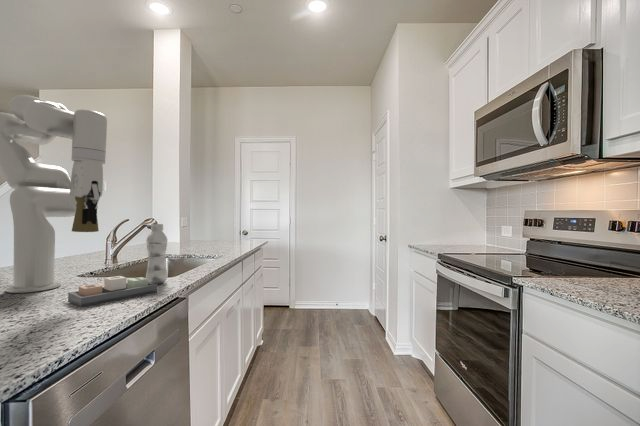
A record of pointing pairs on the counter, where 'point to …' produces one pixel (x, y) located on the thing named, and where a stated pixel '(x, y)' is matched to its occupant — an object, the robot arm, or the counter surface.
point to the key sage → (137, 282)
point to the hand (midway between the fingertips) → (85, 222)
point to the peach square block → (90, 290)
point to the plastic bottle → (156, 255)
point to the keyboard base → (110, 295)
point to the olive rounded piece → (78, 218)
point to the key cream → (115, 283)
